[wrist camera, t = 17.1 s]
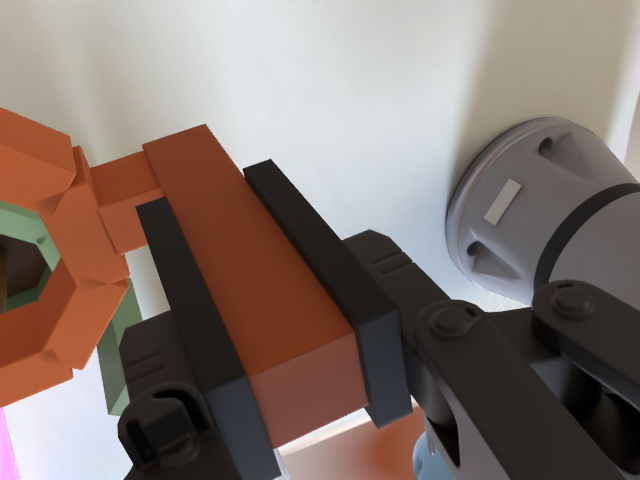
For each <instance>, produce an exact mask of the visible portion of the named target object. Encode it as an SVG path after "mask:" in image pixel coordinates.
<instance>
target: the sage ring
mask: <svg viewBox="0 0 640 480" xmlns="http://www.w3.org/2000/svg"><path fill="white" fill-rule="evenodd" d="M0 234H3V235H6V236H10V237H13V238H17V239H20V240H24V241H27V242H31V243H34V244H36V245H37V247H38V248H39V250H40V252H41V254H42V255H43V257H44V259H45V261H46V262H47V266H46V268H45V270H44V272H43V274H42V277H41V279H40V281H39V283H38V285H37V286H36V287H34V288H31V289H28V290H26V291H23V292H21V293H18V294H16V295H13V296H10V297H8V298H7V312H8V311H11V310H14V309H16V308H19V307H22V306H24V305H27V304H30V303H32V302H35V301H38V300H39V298H40V296H41V294H42V292H43V290H44V288H45V286H46V284H47V282H48V280H49V278H50V276H51V275H52V273H53V271H54V269H55V267H56V265H57V263H58V261H59V259H60V257H61V255H60V254H59V252H58V250H57V248H56V246H55V244H54V242H53V240H52V238H51V236H50V234H49V232H48V231H47V229H46V227H45V225H44V223H43V221H42V219H41V217H40V215H39V213H37V212H34V211H31V210H28V209H25V208H22V207H19V206H16V205H13V204H10V203H7V202H4V201H1V200H0ZM127 282H128V290H127V291H126V293H125V295H124V297H123V299H122V300H121V302H120V304H119V306H118V308H117V309H116V311H115V313H114V315H113V317H112V318H111V320H110V322H109V324H108V326H107V327H106V329H105V331H104V333H103V335H102V336H101V338H100V340H99V342H98V344H97V345H96V346H97V352H98V357H99V363H100V369H101V375H102V380H103V386H104V392H105V398H106V403H107V409H108V414H109V415H116V416H121V415H122V412H123V410H124V409H125V408H126V407H127V405H128V404H129V403H130V400H129V396H128V391H127V386H126V385H127V384H126V381H125V377H124V372H123V370H124V369H123V367H122V362H121V358H120V353H119V345H120V342H121V339H122V336H123V333H124V330H125V328H127V327H129V326H132V325H134V324H137V323H139V322H142V321H143V319H142V316H141V312H140V309H139V305H138V302H137V298H136V295H135V291H134V288H133V284H132V281H131V279H130V278H127Z"/></svg>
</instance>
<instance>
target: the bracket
mask: <svg viewBox="0 0 640 480" xmlns="http://www.w3.org/2000/svg"><path fill="white" fill-rule="evenodd" d="M0 480H20V478H19V474H18V469H17V465H16V461H15V457H14V453H13V449H12V444H11V440H10V436H9V432H8V428H7V423H6V419H5V415H4V411H3V407H2V408H0Z"/></svg>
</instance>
